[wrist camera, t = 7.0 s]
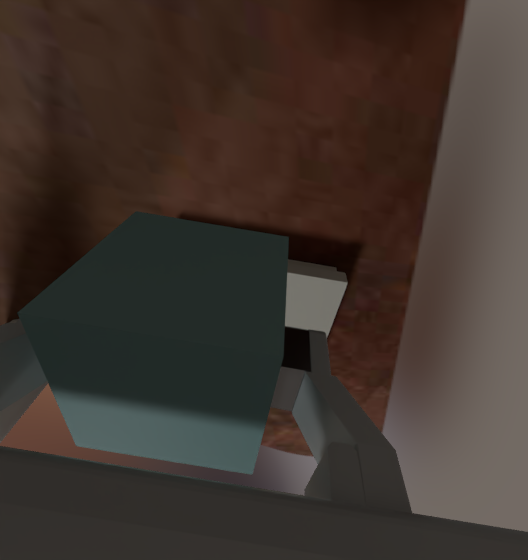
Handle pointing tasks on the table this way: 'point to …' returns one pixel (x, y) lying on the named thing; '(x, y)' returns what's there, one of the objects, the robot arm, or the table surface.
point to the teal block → (167, 340)
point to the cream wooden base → (313, 295)
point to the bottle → (17, 408)
